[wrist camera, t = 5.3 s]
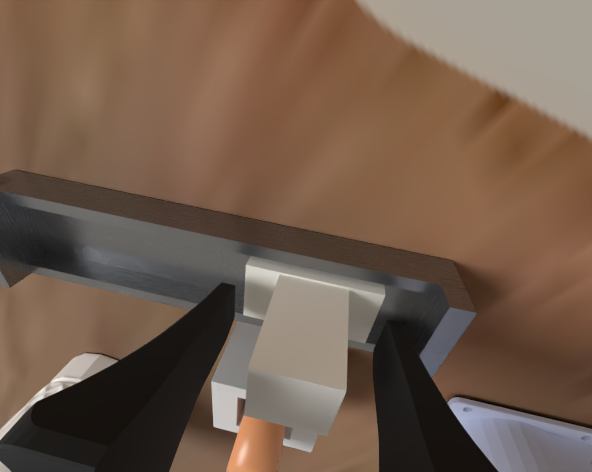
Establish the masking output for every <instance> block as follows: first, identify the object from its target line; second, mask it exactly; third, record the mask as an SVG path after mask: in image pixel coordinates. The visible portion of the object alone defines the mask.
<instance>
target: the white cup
mask: <svg viewBox="0 0 592 472" xmlns="http://www.w3.org/2000/svg"><path fill="white" fill-rule="evenodd" d="M116 362H118V360H115V359H113V358H110V357H107V356H104V355H101V354H91V353H84V354H82V355H79V356H76V357H74V358H73V359H72V360H71V361H70V362H69V363H68V364H67V365H66V366H65V367H64V368H63V369H62V370H61V371H60V372H59V373H58V374H57V375H56V376H55V377H54V378H53V380H52V381H51V382H50V384H48V385H46V386H45V387H44V388H43V389H41V390H40V391H39V392H38V393H37V394H36V395H35V396H33V398H32V399H31V400H30V401H29V402H28V403H27V404H26V405H25V406H24V407H23V408H22V409H21V410H20V411H19V412H17V413H16V414H15V415H14V416H13V417H12V418H11V419H10V420H9V421H8V422H7V423H6V424H5V425H4V426H3V427H2V428H1V429H0V440H1V439H2V438H3V436H4V435H5V434H6V433H7V432H8V431H9V430H10V429H11V428H12V427H13V425H14V424H15V423H16V422H17V421H18V420H19V419H20V418H21V417H22V415H23V414H24V413H25V412H26V411H27V410H28V409H29V408H31V407H32V406H33V405H34V404H35V403H36V402H37V401H39V400H41V399H44V398H46V397H48V396H50V395H52V394H55V393H57V392H59V391H61V390H63V389H65V388H68V387H70V386H72V385H74V384H76V383H78V382H80V381H82V380H84V379H86V378H88V377H90V376H92V375H94V374H96V373H98V372H99V371H101V370H103V369H105V368H107V367H109V366H111V365H113V364H114V363H116ZM0 472H11V471H10V470H9V469H8V468H7V467H6V466H5V465H4V464H3V463H2V462H1V461H0Z"/></svg>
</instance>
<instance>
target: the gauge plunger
mask: <svg viewBox="0 0 592 472" xmlns="http://www.w3.org/2000/svg"><path fill="white" fill-rule="evenodd" d="M244 414H245V411H244ZM285 429H286V426H283V425H279V424H276V423H272V422H268V421H264V420H260V419H256V418H252V417H248V416H244V415H243V418H242V421H241V424H240V428H239V431H238V434H237V437H236V441H235V444H234V447H233V450H232V454H231V457H230V460H229V464H228V467H227V470H226V471H227V472H278V467H279V462H280V456H281V451H282V446H283V440H284V435H285Z"/></svg>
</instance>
